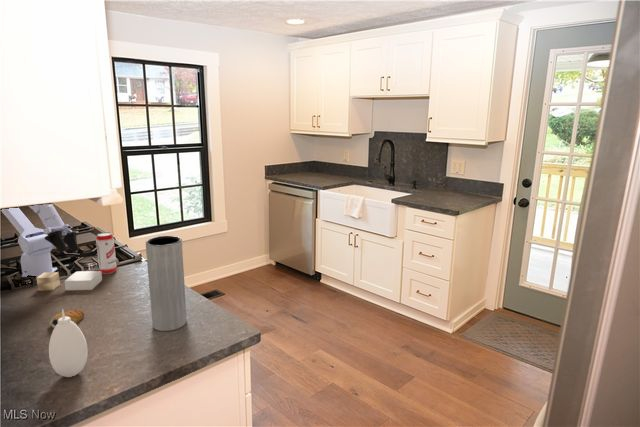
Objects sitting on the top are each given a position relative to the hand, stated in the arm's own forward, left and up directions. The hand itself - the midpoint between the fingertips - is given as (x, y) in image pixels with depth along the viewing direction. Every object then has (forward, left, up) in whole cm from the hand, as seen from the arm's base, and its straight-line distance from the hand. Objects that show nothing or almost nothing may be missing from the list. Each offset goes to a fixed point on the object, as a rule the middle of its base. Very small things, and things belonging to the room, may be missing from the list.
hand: (70, 250), depth 150 cm
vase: (+42, -33, -13) cm, 55 cm away
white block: (+4, -2, -13) cm, 14 cm away
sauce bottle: (+24, -57, -13) cm, 64 cm away
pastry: (+11, -30, -13) cm, 35 cm away
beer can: (+8, +11, -13) cm, 19 cm away
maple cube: (-7, -3, -13) cm, 15 cm away
